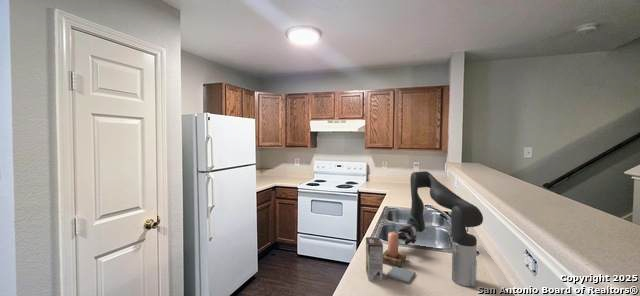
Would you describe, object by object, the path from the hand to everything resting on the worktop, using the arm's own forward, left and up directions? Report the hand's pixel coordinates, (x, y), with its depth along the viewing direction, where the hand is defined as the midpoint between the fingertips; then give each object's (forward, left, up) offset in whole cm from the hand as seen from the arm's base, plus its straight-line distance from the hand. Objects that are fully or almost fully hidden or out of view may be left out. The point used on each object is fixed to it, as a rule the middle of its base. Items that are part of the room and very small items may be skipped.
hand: (397, 241), depth 144 cm
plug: (0, +6, -8) cm, 10 cm away
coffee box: (+2, +25, -9) cm, 27 cm away
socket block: (0, +6, -8) cm, 10 cm away
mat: (-8, +18, -8) cm, 21 cm away
